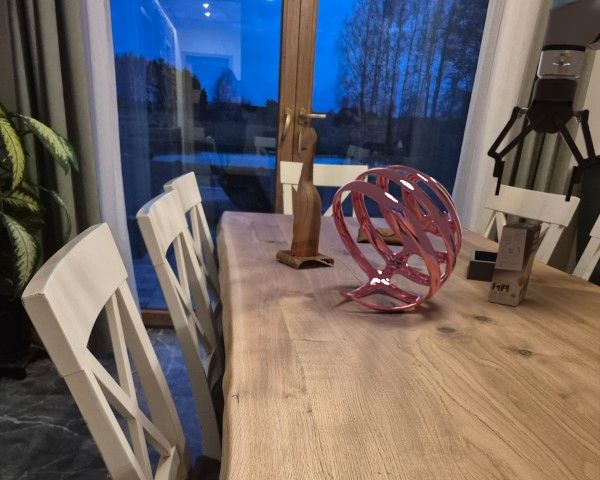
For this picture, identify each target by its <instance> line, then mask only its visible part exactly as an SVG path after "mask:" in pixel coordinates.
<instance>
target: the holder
mask: <svg viewBox="0 0 600 480" xmlns="http://www.w3.org/2000/svg"><path fill="white" fill-rule="evenodd" d="M497 254H498V251H495V250H494V251H492V250H485V249H484V250H482V249H473V248H472V249H471V250H470V256H469V261H468V266H467V277H466V279H467V280H473V281H481V282H482V281H483V282H489V283H492V278H493V273H494V268H495V263H496V259H497Z"/></svg>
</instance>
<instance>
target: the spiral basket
mask: <svg viewBox="0 0 600 480" xmlns="http://www.w3.org/2000/svg"><path fill="white" fill-rule="evenodd" d="M400 172H405V173H408V174H406V175H404V174H402V173H400ZM371 175H375V176H377V177H376V180H375V183H371V182H368V181H366V179H367V177H368V176H371ZM389 181H392V182H394V183H395V184H396V185H398V186H399V187H401V196H402V200H403V202H404V204H405V205H403V203H402V202H400V201H399V200H398V199H397V198H396V197H395V196H393V195H392V194H391V193H389ZM420 181H421V182H422V183H424V184H425V185H426V186H428V188H429V189H431V190H432V192H433V193H434V194H435V195H436V196H437V197H438V198H439V200H440V201H441V203H442V204H443V205H444V207H445V209H446V210H447V211H443V213H442V211H441V209H440V208H439V207H438V206H437V204H436V203H435V201H433V199H432V198H431V197H430V196H429V195H428V194H427V193H426V191H424V190H423V189H422V188H421V187H420V186H419V185H418V184H417V183H418V182H420ZM344 192H351V193H350V194H351V203H352V208H353V212H354V215H355V218H356V219H357V220H356V221H357V222H358V225H359V226H360V227H361V229H362V230H363V232H364V234H365V236H366V237H367V239H368V240H369V242H368V243H369V244H370V245H371V246H372V248H373V249H374V250H375V252H376V253H377V254H378V255H379V256H380V257H381V258H382V259H383V260H384V262H385V266H384V268H382V269H377V268H376V267H375V266H374V265H373V264H372V263H371V262H370V261H369V259H368V258H367V257H366V255H364V253H363V251H362V250H361V249H360V247H359V246H358V245H357V243H356V241H355V239H354V238H353V236H352V234H351V232H350V230H349V228H348V226H347V225H348V224H347V223H346V220H345V217H344V213H343V207H342V196H343V194H344ZM364 196H367V197H368V198H370V199H372V200H373V201H375V202H376V203H377V204H378V207H379V210H380V212H381V214H382V216H383V218H384V220H385V222H386V224H387V225H388V228H389V229H392V231H393V232H394V233H395V235H396V236H397V237H398V238H399V239H400V241H401V242H402V243H403V246H402V249H401V250H400V251H399V252H394V251H393V250H392V249H391V248H390V246H388V245H387V244H386V243H385V242H384V241H383V240H382V238H381V237H380V235H379V234H378V232H377V231H376V229H375V228H374V227H375V225H374V224H373V221H372V220H371V217H370V216H369V214H368V211H367V207H366V204H365V200H364ZM418 203H419V204H420V205H421V207H422V208H423V209H424V210H425V212H426V213H427V214H425V212H424V211H423V210H422V209H421V208H420V205H419V204H418ZM331 204H332V205H331V206H332V207H331V209H332V210H331V211H332V218H333V222H334V225H335V228H336V231H337V233H338V235H339V237H340V240H341V242H342V244H343V245H344V247H345V248H346V251H347V252H348V253H349V255H350V256H351V257H352V259H353V260H354V262H355V263H356V264H357V265H358V267H359V268H360V269H361V270H362V272H363V273H365V275H366V276H367V278H368V280H367V282H366V283H364V284H363V285H362V286H360V287H358V288H356V289H354V290H352V291H348V292H345V291H344V290H343V289H340V290H338V293H339V295H340V296H341V297H343V298H345V299H351V300H352V301H354V302H355V303H357V304H359V305H360V306H363V307H365V308H367V309H369V310H374V311H378V312H385V313H397V312H404V311H407V310H411V309H414V308H416V307H418V306H420V305H422V304H424V303H425V302H428V301H429V300H430V299H431V298H433V297H434V296H435V295H436V294H437V292H439V291H440V290H441V288H442V287H443V286H444V285H445V284H446V282H447V281H449V279H450V278H451V276H452V275H453V273H454V270H455V268H456V265H457V257H458V255H459V253H460V252H461V248H462V243H463V232H462V231H463V230H462V225H461V221H460V218H459V213H458V209H457V206H456V203H455V202H454V200H453V198H452V196H451V194H450V193H449V192H448V191H447V189H446V188H445V187H444V186H443V185H442V184H441V183H440V182H439V181H438V180H437V179H435V178H434V177H431V176H430V175H427V174H426V173H424V172H421V171H420V170H418V169H416V168H413V167H410V166H406V165H400V164H399V165H397V164H396V165H389V166H386V167H372V168H369V169H366V170H364V171H362V172H360V173H359V174H358V175H357V176H356V177H355V179H354V180H351V181H348V182H346V183H344V184H343V185H342V186H341V187H340V188H338V190H337V191H336V192H335V194H334V196H333V199H332V203H331ZM447 212H448V213H447ZM360 227H359V228H360ZM427 233H429V234H431V235H433V236H434V237H439V238H442V241H443V243H444V246H445V249H446V251H445V250H444V251H442V250H437V249H435V247H434V245H433V243H432V242H431V240H430V238H429V237H428V235H427ZM413 255H416V256H418V257H420V258H422V259H423V261H424V264H425V267H426V270H427V274H426V273H424V272H421V271H420V270H417V269H415V268H414V267H412V266H411V265H409V263H408V260H409V258H410V257H411V256H413ZM441 264H442V265H445V267H444V269H443V271H442V272H441V266H440V265H441ZM395 275H401V276H402V277H404V278H406V279H407V280H409V281H411V282H412V283H415V284H418V285H420V286H424V287H428V292H427V293H426V294H423V295H419V294H415V293H411V292H409V291H406V290H405V289H403V288H401V287H399V286H397V285H396V284H394V283H393V282H392V280H391V279H392V278H393V277H394V276H395ZM376 290H381V291H384V292H386V293H387V294H388V295H391V296H392V297H393V298H396V299H397V300H400V301H403V302H404V303H409V304H403V305H400V306H383V305H379V304H373V303H370V302H368V301H366V300H363V299H362V298H363V297H364V296H366V295H369V294H371V293H372V292H374V291H376Z"/></svg>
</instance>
